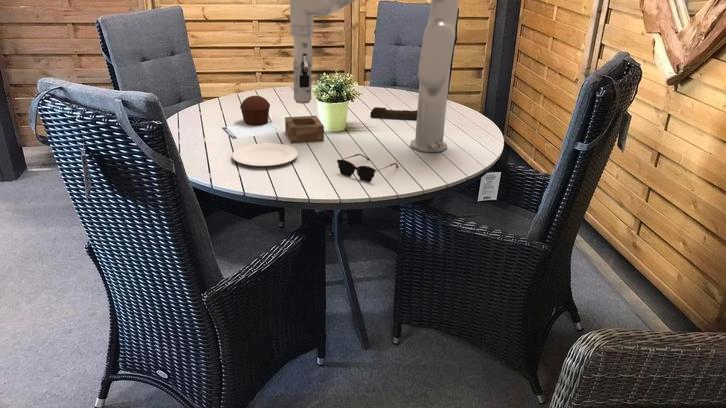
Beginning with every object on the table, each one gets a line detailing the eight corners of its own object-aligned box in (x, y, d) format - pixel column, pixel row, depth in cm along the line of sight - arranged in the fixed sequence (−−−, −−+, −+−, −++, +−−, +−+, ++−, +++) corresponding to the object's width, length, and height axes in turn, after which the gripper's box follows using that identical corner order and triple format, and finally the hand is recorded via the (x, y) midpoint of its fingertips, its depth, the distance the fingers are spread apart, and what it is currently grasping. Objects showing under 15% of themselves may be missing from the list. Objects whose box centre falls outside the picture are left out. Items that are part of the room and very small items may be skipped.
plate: (234, 173, 161) (234, 167, 160) (230, 150, 179) (229, 145, 178) (303, 168, 166) (303, 162, 165) (292, 146, 184) (292, 141, 183)
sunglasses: (335, 174, 162) (336, 158, 161) (365, 162, 175) (366, 148, 173) (374, 185, 156) (375, 169, 154) (402, 172, 168) (403, 157, 166)
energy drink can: (310, 104, 185) (310, 60, 179) (292, 103, 185) (292, 59, 179) (312, 100, 191) (312, 56, 184) (295, 99, 191) (294, 56, 184)
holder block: (323, 141, 189) (323, 126, 187) (291, 143, 186) (290, 128, 184) (316, 130, 201) (316, 115, 198) (285, 131, 198) (285, 117, 195)
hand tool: (417, 118, 219) (418, 107, 217) (417, 121, 215) (418, 110, 213) (371, 116, 220) (371, 105, 219) (370, 119, 217) (370, 107, 215)
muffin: (261, 128, 201) (260, 102, 196) (235, 125, 204) (233, 98, 200) (276, 120, 211) (275, 94, 207) (251, 117, 214) (249, 92, 210)
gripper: (318, 34, 171) (318, 90, 179) (308, 27, 186) (308, 79, 194) (294, 34, 169) (295, 91, 177) (286, 26, 184) (287, 79, 192)
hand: (302, 84), depth 185 cm, fingers closed on energy drink can, 6 cm apart
